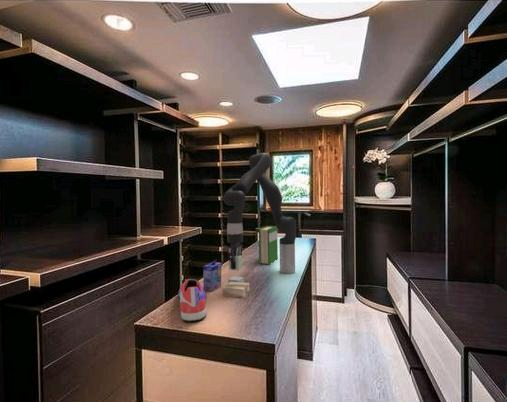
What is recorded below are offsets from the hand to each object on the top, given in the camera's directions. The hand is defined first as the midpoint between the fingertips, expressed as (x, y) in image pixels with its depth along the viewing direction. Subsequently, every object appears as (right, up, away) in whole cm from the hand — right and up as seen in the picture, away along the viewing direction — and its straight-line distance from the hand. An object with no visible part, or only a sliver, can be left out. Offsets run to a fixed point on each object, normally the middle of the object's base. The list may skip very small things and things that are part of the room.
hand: (235, 267), depth 139 cm
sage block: (0, -1, 0) cm, 1 cm away
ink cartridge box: (-12, -12, +8) cm, 19 cm away
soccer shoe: (-18, -13, -15) cm, 27 cm away
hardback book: (+19, -11, +62) cm, 66 cm away
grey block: (0, -12, +11) cm, 16 cm away
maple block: (+1, -13, 0) cm, 13 cm away
